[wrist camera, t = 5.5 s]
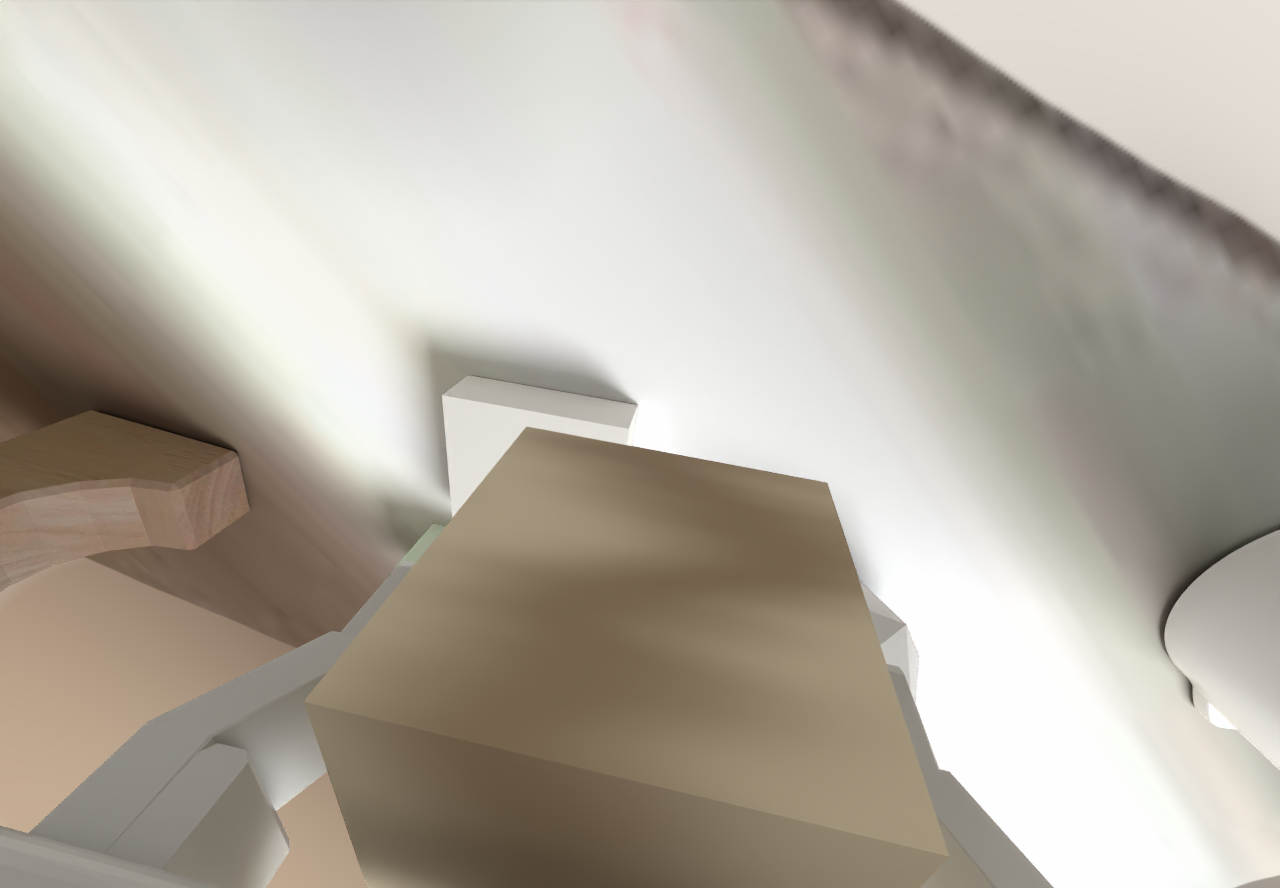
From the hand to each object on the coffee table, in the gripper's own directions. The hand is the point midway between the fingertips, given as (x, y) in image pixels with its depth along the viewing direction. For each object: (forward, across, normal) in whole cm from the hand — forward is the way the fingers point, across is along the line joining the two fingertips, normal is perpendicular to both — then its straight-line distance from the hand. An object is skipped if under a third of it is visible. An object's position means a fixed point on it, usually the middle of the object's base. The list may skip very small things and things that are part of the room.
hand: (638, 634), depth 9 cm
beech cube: (+2, 0, 0) cm, 2 cm away
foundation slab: (+19, +8, +10) cm, 23 cm away
